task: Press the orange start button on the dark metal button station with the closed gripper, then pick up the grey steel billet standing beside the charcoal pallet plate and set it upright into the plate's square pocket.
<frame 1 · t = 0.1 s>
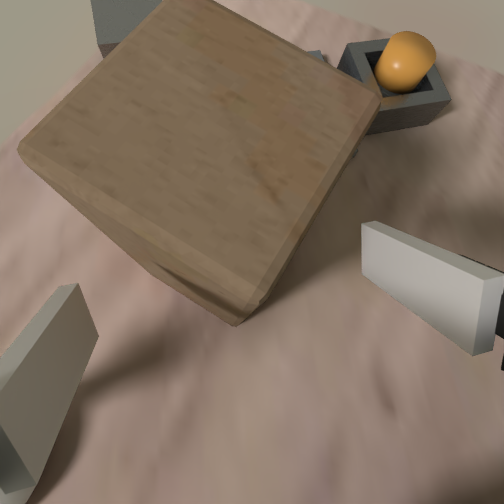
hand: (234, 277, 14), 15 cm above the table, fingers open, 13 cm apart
steel billet: (161, 124, 34), on the table
start button: (403, 63, 33), point 5 cm above the table, slide at 0.0 cm
button station: (380, 98, 37), on the table
wooden block: (220, 257, 31), on the table
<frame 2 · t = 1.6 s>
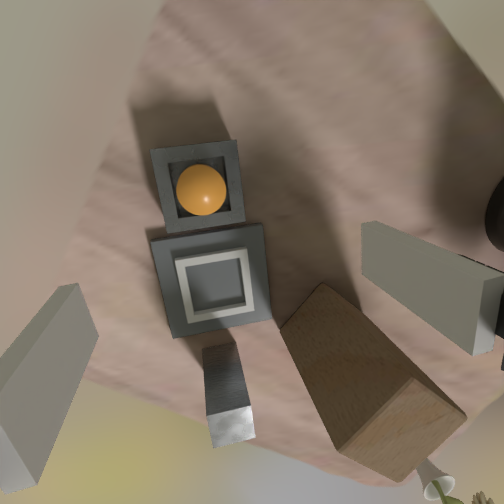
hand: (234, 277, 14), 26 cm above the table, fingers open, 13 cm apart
steel billet: (221, 359, 46), on the table
pallet plate: (215, 280, 42), on the table
start button: (201, 189, 33), point 5 cm above the table, slide at 0.0 cm
flower in vase: (381, 406, 57), on the table
button station: (199, 183, 37), on the table
wooden block: (321, 321, 48), on the table
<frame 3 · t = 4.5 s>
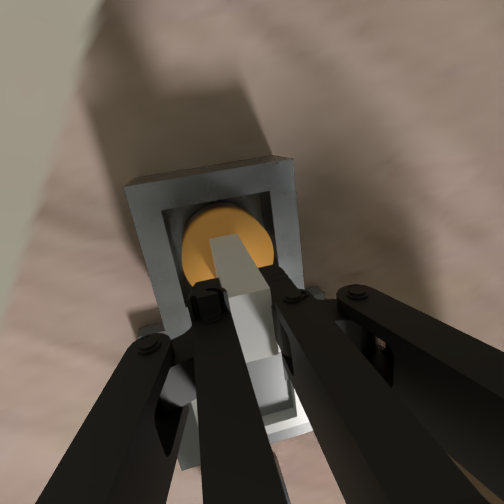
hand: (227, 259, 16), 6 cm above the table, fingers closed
pallet plate: (245, 376, 26), on the table
start button: (225, 249, 18), point 4 cm above the table, slide at 1.3 cm, touching gripper
button station: (218, 232, 22), on the table
wooden block: (399, 412, 32), on the table
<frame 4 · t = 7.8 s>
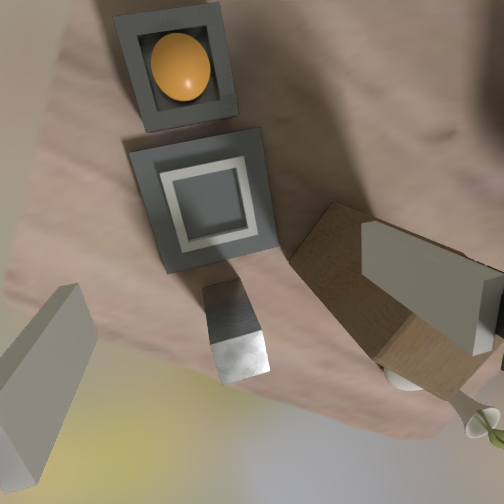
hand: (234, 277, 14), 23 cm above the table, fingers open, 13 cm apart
steel billet: (225, 299, 41), on the table
pallet plate: (210, 202, 36), on the table
start button: (181, 70, 28), point 4 cm above the table, slide at 1.5 cm
flower in vase: (406, 349, 51), on the table
button station: (181, 77, 31), on the table
wooden block: (335, 249, 42), on the table
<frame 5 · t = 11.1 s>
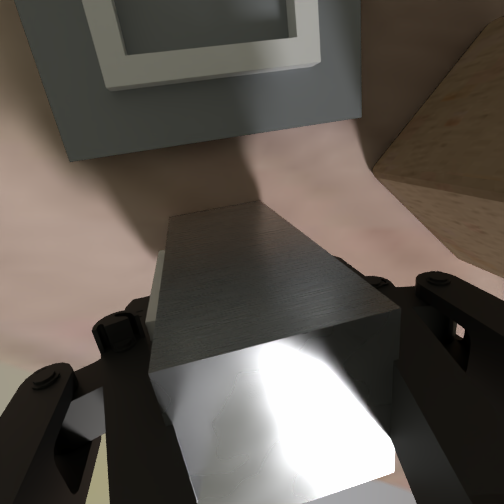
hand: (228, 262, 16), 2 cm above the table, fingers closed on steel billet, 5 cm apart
steel billet: (223, 251, 18), on the table, touching gripper
wooden block: (467, 154, 19), on the table
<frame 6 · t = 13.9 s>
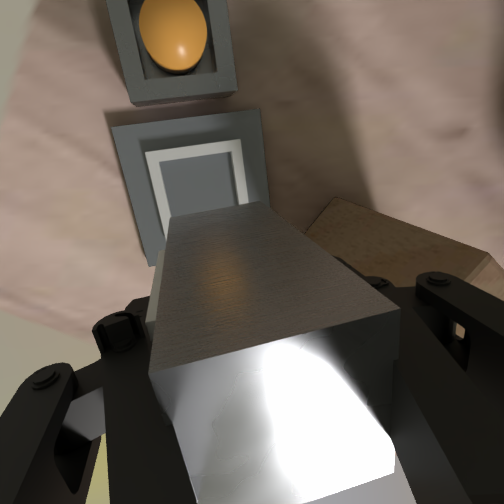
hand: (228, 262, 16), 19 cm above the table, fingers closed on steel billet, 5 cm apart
steel billet: (223, 251, 18), point 17 cm above the table, touching gripper
pallet plate: (201, 189, 33), on the table
start button: (174, 34, 25), point 4 cm above the table, slide at 1.5 cm
button station: (174, 46, 28), on the table
wooden block: (333, 250, 39), on the table
when the fingers open (4 cm above the table, at t = 17.1 s): steel billet drops 1 cm, resting on pallet plate.
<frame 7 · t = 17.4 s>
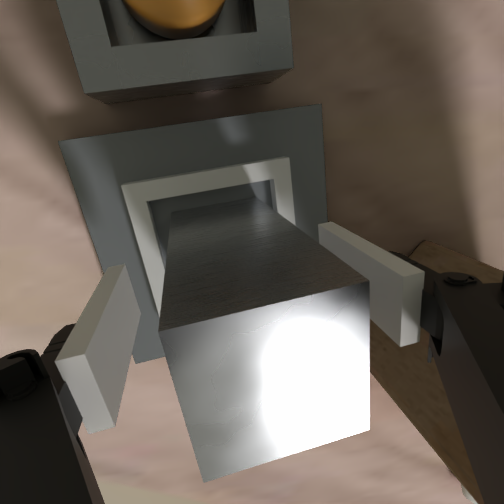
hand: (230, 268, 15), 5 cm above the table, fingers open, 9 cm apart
steel billet: (222, 244, 19), point 1 cm above the table, touching pallet plate
pallet plate: (218, 238, 20), on the table
wooden block: (414, 314, 26), on the table
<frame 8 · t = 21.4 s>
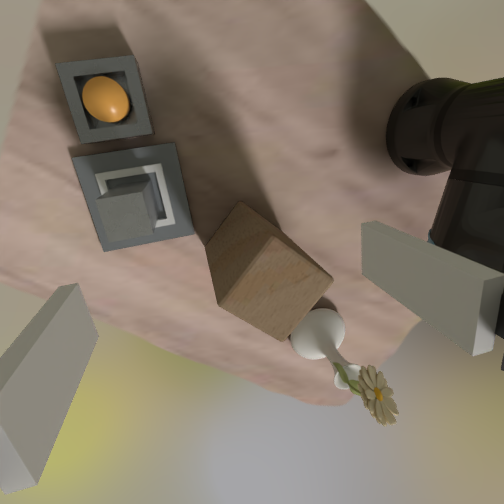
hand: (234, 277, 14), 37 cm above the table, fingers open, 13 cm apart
steel billet: (138, 198, 46), point 1 cm above the table, touching pallet plate
pallet plate: (139, 197, 47), on the table
start button: (107, 100, 39), point 4 cm above the table, slide at 1.5 cm
flower in vase: (312, 325, 63), on the table
button station: (113, 103, 42), on the table
wooden block: (244, 239, 53), on the table
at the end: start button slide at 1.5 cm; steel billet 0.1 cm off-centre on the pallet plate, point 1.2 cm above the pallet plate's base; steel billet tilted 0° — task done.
